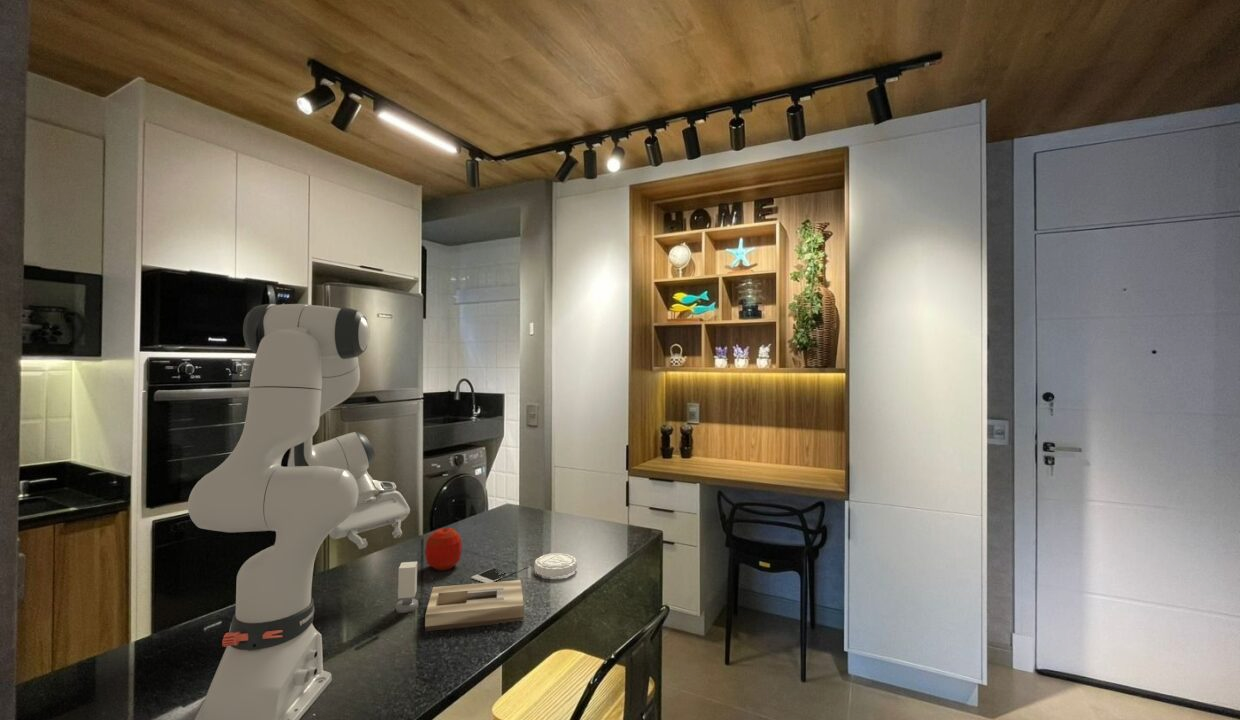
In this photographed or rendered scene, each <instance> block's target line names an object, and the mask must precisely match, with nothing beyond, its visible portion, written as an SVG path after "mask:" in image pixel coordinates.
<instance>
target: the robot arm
mask: <svg viewBox="0 0 1240 720" xmlns="http://www.w3.org/2000/svg"><path fill="white" fill-rule="evenodd" d="M242 335H243V339H244V343H245V345H246V346H247V347H248V348H249V350H250V351H251V352H252V353H253V354H255V357H254V360H253V364H252V365H253V366H252V369H251V373H250V375H251V376H250V383H249V391H248V392H249V393H248V399H247V400H248V401H247V407H246V414H245V421H244V426H243V429H242V432H241V435H240V439H239V440H238V442H237V443H236V446H235V447H234V449H233V450H232V452H231V453H230V454H229V455H228V457H227V458H226V459H225V460H224V461H223V462H222V463H220V464H219V465H218V466H217V467H216V468H214V469H213V470H211V471H209V472H208V473H207V474H205V475H204V476H203V477H201V479H199V480H198V481H197V482H196V484H195V485H194V487H193V488H192V490H191V491H190V494H189V497H188V500H187V511H188V514H189V517H190V520H191V521H192V522H193V524H195V526H196V527H197V528H199V529H203V530H208V531H216V532H223V533H246V532H247V533H248V532H267V531H271V532H275V541H274V544H273V545H270V546H269V547H266V548H265V549H262V550H260V551H259V552H257V553H255V554H254V555H252V556H250V557H249V558H248V559H247V560H246V561H244V562H243V564H242V565H241V567H240V568H239V570H238V572H237V575H236V585H235V586H236V591H235V592H236V593H235V613H234V614H233V616H232V620H231V622H230V626H229V632H226V633H225V634H224V635H223V639H222V640H221V641H222V643H221V646H222V647H224V648H225V650H224V652H223V654H222V657H221V659H220V662H219V664H218V667H217V669H216V671H215V674H214V676H213V678H212V680H211V683H210V686H209V688H208V690H207V693H206V696H205V698H204V701H203V702H202V704H201V707H200V709H199V710H198V712H197V714H196V716H195V717H194V720H300V719H301V718H302V716H303V715H304V714H305V713H306V712H307V711H308V709H309V708H310V707H311V706H312V705H313V703H315V701H316V700H317V699H318V698H319V697H320V695H321V694H322V693H323V692H324V691H325V690H326V688H327V687H328V686H329V685H330V684H331V682H332V680H333V678H332V677H333V676H332V673H331V672H329V671H326V670H324V665H323V664H324V663H323V662H324V661H323V660H324V659H323V638H322V634H321V633H320V631H318V630H317V629H316V628H315V626H314V624H313V621H314V614H315V605H314V599H313V598H312V588H313V587H312V584H313V575H314V574H313V573H314V565H315V561H316V557H317V553H318V551H319V549H320V547H321V545H322V543H323V542H324V541H325V539H326V538H327V537H328V536H329V537H330V538H332V539H333V540H337V539H342V538H346V537H347V538H348V540H349V541H351V542H353V544H355V545H356V546H357V548H358V549H359V550H362V549H364V548H365V549H366V548H367V546H368V545H369V543H368V541H367V538H366V537H364V538H362V537H361V536H360V535H358V534H359V533H363V532H366V531H370V530H373V529H377V528H381V527H384V526H387V525H391V526H392V527H393V528H394V530H393V531H392V532H391V534H392V536H393V538H394V539H398V538H400V537H402V536H403V531H402V529H401V525H402V522H403V521H405V519H407V518H408V516H409V515H410V511H411V508H410V506H409V504H408V502H407V501H406V498H404V495H402V494H401V492H400V491H398V490H396V489H397V485H396V483H395V482H393V481H381V480H377V479H373V476H371V475H370V474H369V471H368V469H370V467H371V466H372V463H373V462H374V459H375V454H376V453H375V451H374V449H373V446H372V444H371V442H370V440H369V439H368V437H367V435H364V434H362V433H360V432H358V431H354V432H349V433H346V434H343V435H340V436H337V437H334V438H332V439H329V440H325V441H323V442H319V443H316V444H313V437H314V436H315V434H316V432H317V431H318V429H319V428H320V419H321V417H322V416H323V415H324V414H326V413H327V412H328V411H330V410H332V409H333V408H334V407H337V406H338V405H339V404H341V403H343V402H345V401H346V400H348V398H350V397H351V396H352V395H353V394H354V393H355V392H356V390H357V388H358V387H359V385H360V381H361V370H360V363H359V362H360V361H359V356H361V355H362V354H363V353H364V352H365V351H366V350H367V348H368V343H370V342H369V341H370V336H371V335H370V328H369V324H368V319H367V317H366V316H365V315H364V314H363V313H362V312H361V311H360V310H357V309H353V308H348V307H344V306H343V307H341V308H340V307H333V306H326V305H314V304H309V303H289V304H288V303H287V304H286V303H285V304H276V303H266V304H260V305H259V304H258V305H257V306H254V307H252V309H250V310H249V312H247V314H246V315H245V317H244V319H243V325H242ZM288 450H289V452H288V457H287V466H283V465H282V460H283V458H284V455H285V454H286V452H287V451H288Z"/></svg>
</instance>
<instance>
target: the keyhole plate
mask: <svg viewBox="0 0 1240 720" xmlns="http://www.w3.org/2000/svg"><path fill="white" fill-rule="evenodd" d="M523 597H524V596H523V589H522V580H520V579H516V580H506V581H504V580H503V581H497V582H490V583H481V582H479V583H467V584H456V585H445V586H444V585H443V586H441V585H440V586H433V587H432V590H431V593H430V596H429V601H428V604H427V607H426V612H425V616H424V617H425V618H424V620H425V621H424V632H433V631H439V630H440V631H441V630H451V629H460V628H470V627H479V626H481V627H482V626H490V625H491V626H492V625H499V623H502V624H506V623H505V622H511V623H513V622H512V621H521V620H523V621H524V617H525V616H524V614H525V613H524V609H525V604H524V598H523ZM521 622H522V621H521Z"/></svg>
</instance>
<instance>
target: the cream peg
mask: <svg viewBox="0 0 1240 720" xmlns="http://www.w3.org/2000/svg"><path fill="white" fill-rule="evenodd" d="M397 579H398V582H397V586H398V587H397V599H401V600H399V601H398V602H396V604H395V611H396V612H397V613H398V614H409V613H411V612H415V611H416V610H417V609H418V607H419V600H418V599H417V598H415V596H416V593H417V591H418V590H417V588H418V561H405V562H401V563H400V566H399V567H398V578H397Z"/></svg>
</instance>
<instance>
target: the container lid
mask: <svg viewBox="0 0 1240 720" xmlns="http://www.w3.org/2000/svg"><path fill="white" fill-rule="evenodd" d="M533 564H534V566H533V567H534V569H535V572H537V574H540V575H542V576H546V577H550V576H552V577H556V576H563V575H568V574H569V573H572V572H573V571H575V570H576V568H577V569H578V561H577V558H575V557H574V556H573V555H570V554H568V553H563V552H560V553H557V552H556V553H550V552H549V553H547V554H543V555H541V556H539V557H537V558H536V559H535V561H534V563H533ZM534 569H533V570H534ZM535 572H534V573H535Z"/></svg>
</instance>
